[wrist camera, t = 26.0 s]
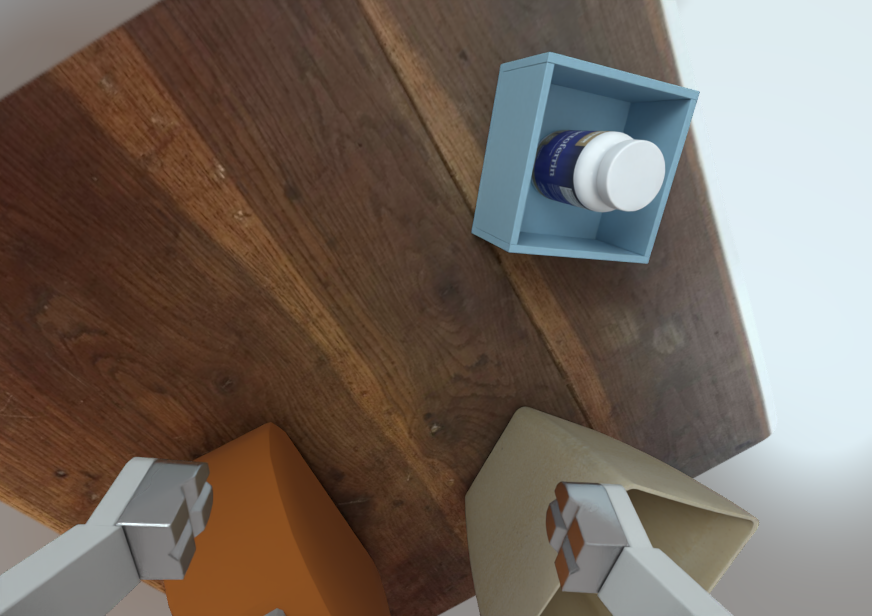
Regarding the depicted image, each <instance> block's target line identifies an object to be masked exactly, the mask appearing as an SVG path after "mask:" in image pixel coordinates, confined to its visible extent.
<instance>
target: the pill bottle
mask: <svg viewBox="0 0 872 616" xmlns="http://www.w3.org/2000/svg"><path fill="white" fill-rule="evenodd" d="M664 176H665V161H664V157H663V154H662V152H661V151H660V149H659V148H658V147H657V146H656V145H655V144H653V143H652V142H649V141H645V140H635V139H633V138H631V137H630V136H628V135H627V134H624V133H621V132H616V131H580V130H560V131H556V132H553V133H551V134H549V135H547V136H546V137H544V138H543V139H542V140H541V141H540V142H539V144H538V147H537V151H536V156H535V161H534V166H533V171H532V175H531V181H532V184H533V186H534V187H535V189H536V190H537V191H538V193H540V194H541V195H542V196H544V197H546V198H548V199H551V200H554V201H558V202H561V203H565V204H569V205H573V206H576V207H580V208H584V209H587V210H590V211H595V212H609V211H613V210H615V209H617V210H621V211H628V212H629V211H637V210H639V209H641V208H643V207H645V206H646V205H648V204H649V203H650V202H651V201H652V200H653V199H654V198H655V196H656V195H657V194H658V192H659V190H660V188H661V186H662V183H663V180H664Z"/></svg>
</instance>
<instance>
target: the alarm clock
mask: <svg viewBox="0 0 872 616" xmlns="http://www.w3.org/2000/svg"><path fill="white" fill-rule="evenodd" d="M193 461H195V462H206V463H208V466H209V471H210V474H209V476H208V478H207V480H206V481H207V482H208V483H209V484H210V485H212V488H213V505H212V509H211V513H210V517H209V520H208V522H207V525H206V527H205V530H204V531H202V532H201V533H200V534H199V535H197V536H196V537H195V538H194V540H195V545H196V551H195V554H194V556H193V558H192V561H191V563H190V565H189V568H188V570H187V572H186V575H185V577H184V579H183V580H163V581H164V586H165V591H166V595H167V600H168V605H169V608H170V611H171V613H172V616H391V615H390V611H389V607H388V603H387V599H386V595H385V591H384V588H383V584H382V581H381V578H380V575H379V572H378V570H377V568H376V566H375V564H374V562H373V560H372V559H371V557H370V556H369V554H368V553H367V551H366V550H365V548H364V547H363V545H362V544H361V542H360V541H359V540H358V538H357V537H356V535H355V534H354V532H353V531H352V529H351V528H350V526H349V525H348V523H347V522H346V520H345V519H344V518H343V516H342V515H341V513H340V512H339V510H338V509H337V507H336V506H335V504H334V503H333V501H332V500H331V498H330V497H329V495H328V494H327V493H326V491H325V490H324V488H323V487H322V485H321V484H320V482H319V481H318V479H317V478H316V476H315V475H314V473H313V472H312V471H311V469H310V468H309V466H308V465H307V463H306V462H305V460H304V459H303V457H302V456H301V454H300V453H299V451H298V450H297V449H296V447H295V446H294V444H293V443H292V441H291V440H290V438H289V437H288V435H287V434H286V432H285V431H283V430H282V429H281V428H280V427H278V426H276V425H275V424H273V423H266V424H264V425H262V426H260V427H258V428H256V429H254V430H252V431H250V432H248V433H246V434H244V435H242V436H240V437H238V438H236V439H234V440H232V441H230V442H228V443H226V444H225V445H223V446H221V447H219V448H217V449H215V450H213V451H211V452H209V453H207V454H205V455H203V456H201V457H199V458H197V459H195V460H193Z"/></svg>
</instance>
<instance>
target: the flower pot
mask: <svg viewBox="0 0 872 616" xmlns="http://www.w3.org/2000/svg"><path fill="white" fill-rule="evenodd" d="M561 481H564V482H588V483H599V484H618V485H622V486H623V487H624V488H625V490H626V492H627V494H628V496H629V498H630V500H631V502H632V505H633V507H634V509H635V511H636V513H637V515H638V517H639V519H640V521H641V524H642V526H643V528H644V530H645V532H646V534H647V536H648V538H649V540H650V543H651V545H652V547H653V548H659V549H660V550H661V551H662V552H664V553H665V554H666V555H667V556H668V557H669V558H670V559H671V560H672V561H674V562H675V563H676V564H677V565H678V566H679V567H680V568H681V569H682V570H684V571H685V572H686V573H687V574H688V575H689V576H690V577H691V578H692V579H694V580H695V581H696V582H697V583H698V584H699V585H700V586H701V587H702V588H704V589H705V590H706V591H707V592H708V593H709V594H710V592H711V591H712V590H713V588H714V587H715V586H716V584H717V583H718V582H719V580H720V579H721V577H722V576H723V575H724V573H725V572H726V571H727V569H728V568H729V566H730V565H731V564H732V562H733V561H734V559H735V558H736V557H737V556H738V554H739V553H740V551H741V550H742V549H743V547H744V546H745V545H746V543H747V542H748V540H749V539H750V538H751V537H752V535H753V534H754V533H755V531H756V530H757V528H758V526H759V520H758V519H757V518H756V517H754V516H752V515H751V514H750V513H748V512H747V511H745V510H744V509H742V508H741V507H739V506H737V505H736V504H734V503H733V502H731V501H730V500H728V499H726V498H725V497H723V496H721V495H720V494H718V493H716V492H715V491H713V490H711V489H709V488H708V487H706V486H704V485H703V484H701V483H699V482H698V481H696V480H694V479H692V478H691V477H689V476H687V475H685V474H684V473H682V472H680V471H678V470H676V469H675V468H673V467H671V466H669V465H667V464H665V463H663V462H662V461H660V460H658V459H656V458H654V457H652V456H650V455H648V454H646V453H644V452H642V451H640V450H638V449H635V448H633V447H631V446H629V445H627V444H625V443H623V442H621V441H618V440H616V439H614V438H612V437H609V436H607V435H605V434H602V433H600V432H598V431H595V430H592V429H590V428H587V427H584V426H581V425H578V424H575V423H572V422H569V421H567V420H564V419H561V418H558V417H555V416H553V415H550V414H547V413H544V412H541V411H538V410H536V409H533V408H530V407H522V408H519V409H518V410H517V411H516V412H515V414H514V415H513V417H512V419H511V420H510V422H509V424H508V425H507V427H506V429H505V430H504V432H503V434H502V435H501V437H500V439H499V440H498V442H497V444H496V445H495V447H494V449H493V450H492V452H491V453H490V455H489V457H488V458H487V460H486V462H485V463H484V465H483V467H482V468H481V470H480V472H479V473H478V475H477V477H476V478H475V480H474V482H473V483H472V485H471V487H470V488H469V490H468V492H467V494H466V496H465V516H466V528H467V540H468V548H469V556H470V563H471V570H472V576H473V582H474V587H475V592H476V598H477V602H478V607H479V612H480V616H613V615H612V614H611V612H610V611H609V610H608V609H607V607H606V606H605V605H604V603H603V602H602V601H601V600H600V598H599V597H598V596H597V595H598V593H582V592H566V591H562V589H561V585H560V582H559V578H558V574H557V571H556V567H555V563H554V562H555V560H556V557H557V555H558V553H557V552H556V551H555V550H554V548H553V547H552V546H551V545H550V544H549V541H548V537H547V532H546V512H547V509H548V506H549V503H551V502H552V501H554V500H555V499H556V496H555V492H554V491H555V488H556V486H557V484H558V483H559V482H561Z"/></svg>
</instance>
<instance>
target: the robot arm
mask: <svg viewBox="0 0 872 616" xmlns="http://www.w3.org/2000/svg"><path fill="white" fill-rule="evenodd" d="M209 474H210V471H209V466H208V463H206V462H195V461H183V460H171V459H159V458H143V457H134V458H132V459H131V460H130V461H129V462H127V463H126V465H125V466H124V468H123V469H122V471H121V472H120V474H119V475H118V477H117V478H116V480H115V481H114V483H113V484H112V486H111V487H110V489H109V490H108V492H107V493H106V494H105V496H104V497H103V499H102V500H101V502H100V503H99V505H98V506H97V508H96V509H95V511H94V512H93V514H92V515H91V517H90V518H89V520H88V521H87V523H86V524H77V525H76V526H74V527H73V528H71V529H70V530H68V531H67V532H65V533H64V534H62V535H61V536H59V537H58V538H56V539H55V540H53V541H52V542H50V543H48V544H47V545H45V546H44V547H43V548H41V549H39V550H38V551H36V552H35V553H33V554H32V555H30V556H29V557H27V558H26V559H24V560H23V561H21V562H20V563H18V564H17V565H15V566H14V567H12V568H10V569H9V570H7V571H6V572H4V573H3V574H1V575H0V616H105V615H106V614H107V613H108V612H109V611H110V610H112V609H113V608H114V607H115V606H116V605H117V604H118V603H119V602H120V601H121V600H122V599H123V598H124V597H125V596H126V595H127V594H128V593H130V591H132V590H133V589H134V588H135V587H136V586H137V585H138V584H139V583H140V579H144V580H183V579H184V577H185V575H186V572H187V570H188V568H189V565H190V563H191V561H192V558H193V556H194V554H195V551H196V545H195V540H194V538H195V537H196V536H197V535H199V534H200V533H201V532H202V531H204V530H205V527H206V525H207V522H208V520H209V517H210V513H211V509H212V505H213V488H212V485H210V484H209V483H208V482H207V481H206V480H207V478H208V476H209ZM554 492H555V496H556V499H555V500H554V501H552V502H551V503H549V506H548V509H547V512H546V532H547V537H548V541H549V544H550V545H551V546H552V547H553V548H554V550H555V551H556V552H557V553H558V555H557V557H556V560H555V562H554V563H555V567H556V571H557V574H558V578H559V582H560V585H561V589H562V591H566V592H582V593H598V595H597V596H598V597H599V598H600V600H601V601H602V602H603V603H604V605H605V606H606V607H607V609H608V610H609V611H610V612H611V614H612V615H613V616H733V615H732V614H731V613H730V612H729V611H728V610H727V609H726V608H725V607H723V606H722V605H721V604H720V603H719V602H718V601H717V600H716V599H715V598H714V597H712V596H711V595H710V594H709V593H708V592H707V591H706V590H705V589H704V588H702V587H701V586H700V585H699V584H698V583H697V582H696V581H695V580H694V579H692V578H691V577H690V576H689V575H688V574H687V573H686V572H685V571H684V570H682V569H681V568H680V567H679V566H678V565H677V564H676V563H675V562H674V561H672V560H671V559H670V558H669V557H668V556H667V555H666V554H665V553H664V552H662V551H661V550H660V549H659V548H653V547H652V545H651V543H650V540H649V538H648V536H647V534H646V532H645V530H644V528H643V526H642V524H641V521H640V519H639V517H638V515H637V513H636V511H635V509H634V507H633V505H632V502H631V500H630V498H629V496H628V494H627V492H626V490H625V488H624V487H623V486H622V485H618V484H599V483H588V482H564V481H561V482H559V483H558V484H557V486H556V488H555V491H554Z"/></svg>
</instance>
